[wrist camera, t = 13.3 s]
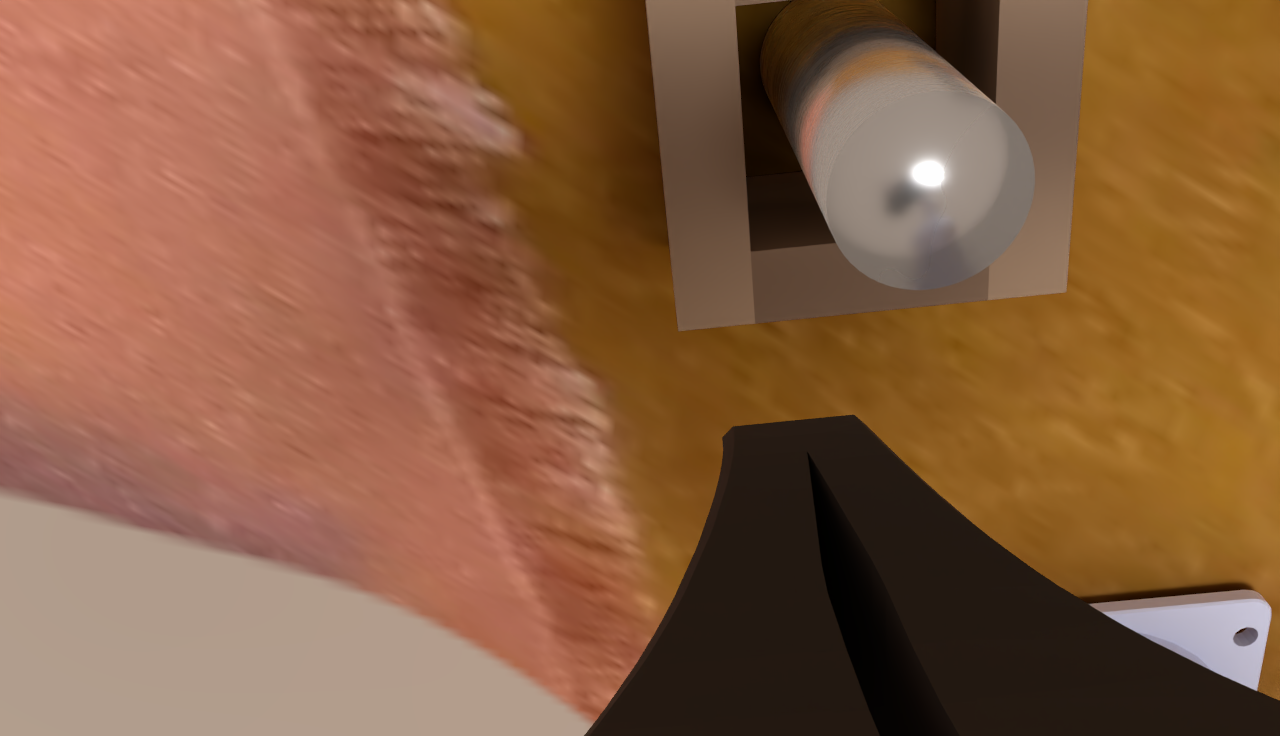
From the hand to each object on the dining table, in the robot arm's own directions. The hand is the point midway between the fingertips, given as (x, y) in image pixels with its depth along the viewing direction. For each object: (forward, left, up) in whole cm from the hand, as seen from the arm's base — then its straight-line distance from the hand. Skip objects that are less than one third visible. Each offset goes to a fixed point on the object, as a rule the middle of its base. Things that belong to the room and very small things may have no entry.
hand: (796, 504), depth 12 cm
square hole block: (+2, -2, -10) cm, 10 cm away
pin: (+2, -2, -10) cm, 10 cm away
